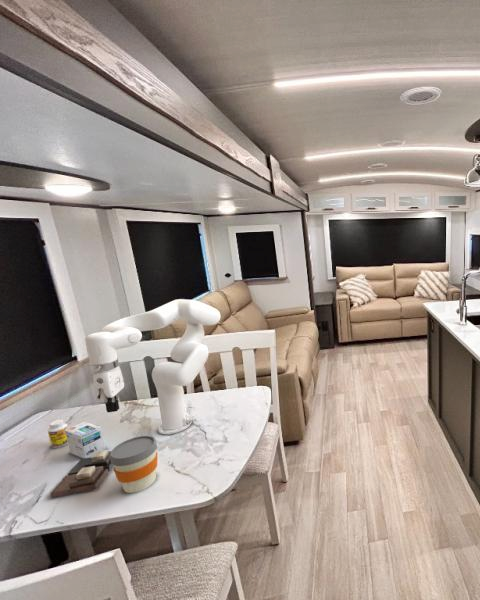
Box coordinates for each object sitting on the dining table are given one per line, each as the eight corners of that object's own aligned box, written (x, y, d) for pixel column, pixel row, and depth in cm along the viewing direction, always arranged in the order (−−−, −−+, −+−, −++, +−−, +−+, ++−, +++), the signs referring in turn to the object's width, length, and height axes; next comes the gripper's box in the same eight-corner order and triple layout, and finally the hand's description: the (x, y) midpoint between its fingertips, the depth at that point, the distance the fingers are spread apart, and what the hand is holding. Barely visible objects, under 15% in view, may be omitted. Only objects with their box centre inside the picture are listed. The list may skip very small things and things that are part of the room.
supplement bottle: (49, 450, 128) (44, 427, 126) (54, 442, 133) (49, 420, 130) (68, 445, 131) (63, 423, 129) (72, 438, 136) (67, 417, 133)
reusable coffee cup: (152, 492, 109) (146, 455, 105) (108, 500, 105) (100, 462, 102) (167, 467, 120) (162, 432, 117) (128, 473, 117) (121, 438, 114)
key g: (95, 470, 113) (94, 465, 113) (90, 477, 110) (89, 472, 109) (83, 472, 112) (82, 467, 112) (77, 480, 109) (75, 475, 108)
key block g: (108, 473, 117) (106, 464, 116) (96, 489, 109) (94, 479, 109) (66, 481, 113) (64, 471, 112) (51, 498, 105) (49, 488, 105)
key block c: (120, 457, 125) (118, 448, 124) (109, 471, 118) (108, 462, 117) (82, 463, 121) (80, 454, 120) (68, 478, 114) (66, 469, 113)
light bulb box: (106, 449, 129) (101, 426, 127) (85, 460, 123) (80, 435, 121) (89, 443, 133) (85, 420, 130) (69, 453, 126) (63, 429, 124)
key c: (109, 454, 122) (108, 449, 121) (104, 460, 118) (103, 455, 118) (97, 456, 120) (96, 451, 120) (92, 462, 117) (91, 457, 117)
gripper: (106, 372, 109) (115, 420, 113) (127, 356, 123) (134, 399, 126) (79, 375, 106) (89, 423, 110) (103, 359, 120) (111, 402, 124)
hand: (113, 410), depth 118 cm, fingers closed
